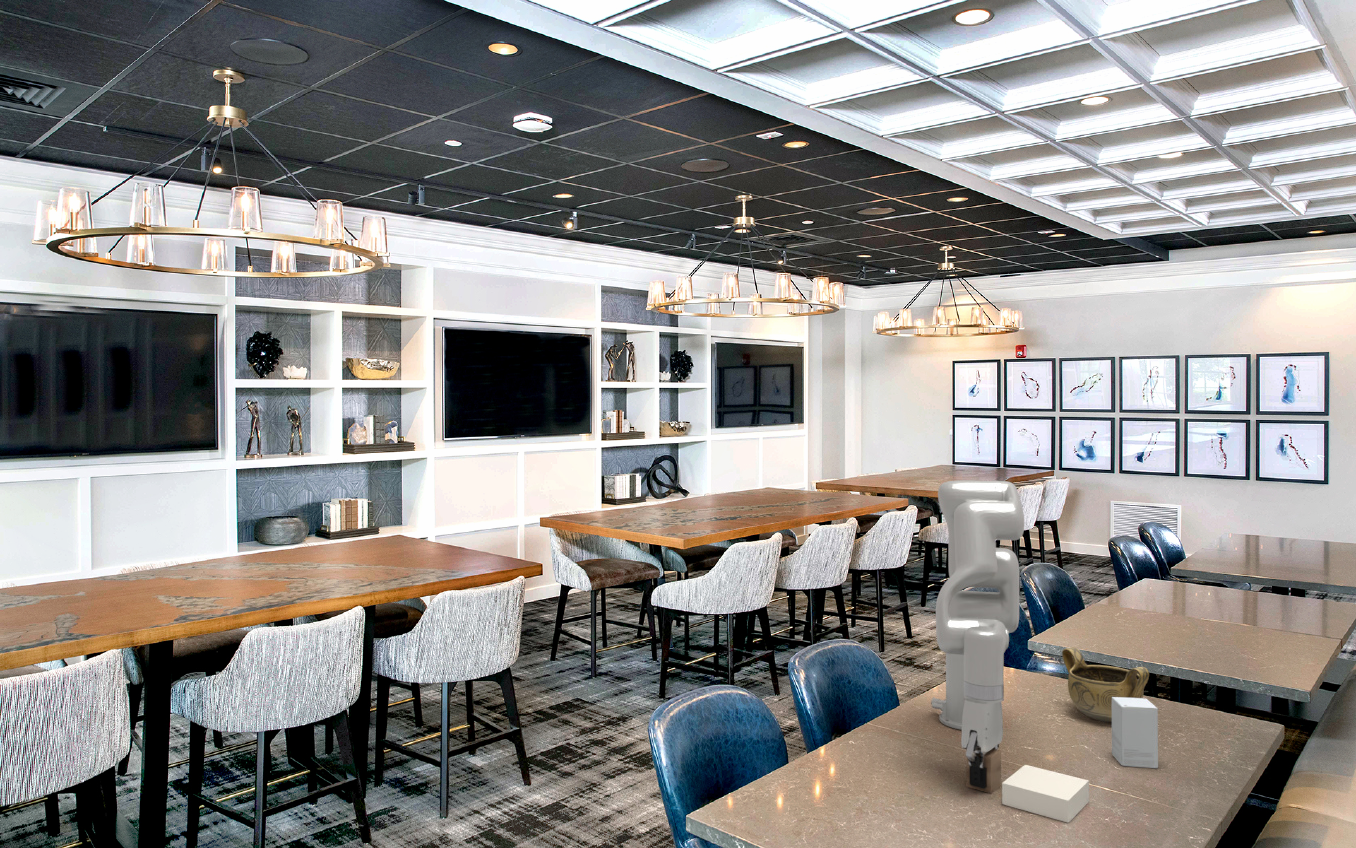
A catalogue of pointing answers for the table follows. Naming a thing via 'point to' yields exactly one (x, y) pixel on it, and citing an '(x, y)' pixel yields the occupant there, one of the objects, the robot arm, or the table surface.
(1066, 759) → the table surface
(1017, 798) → the base
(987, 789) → the walnut block
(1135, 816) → the table surface
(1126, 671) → the ceramic bowl
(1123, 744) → the supplement box
